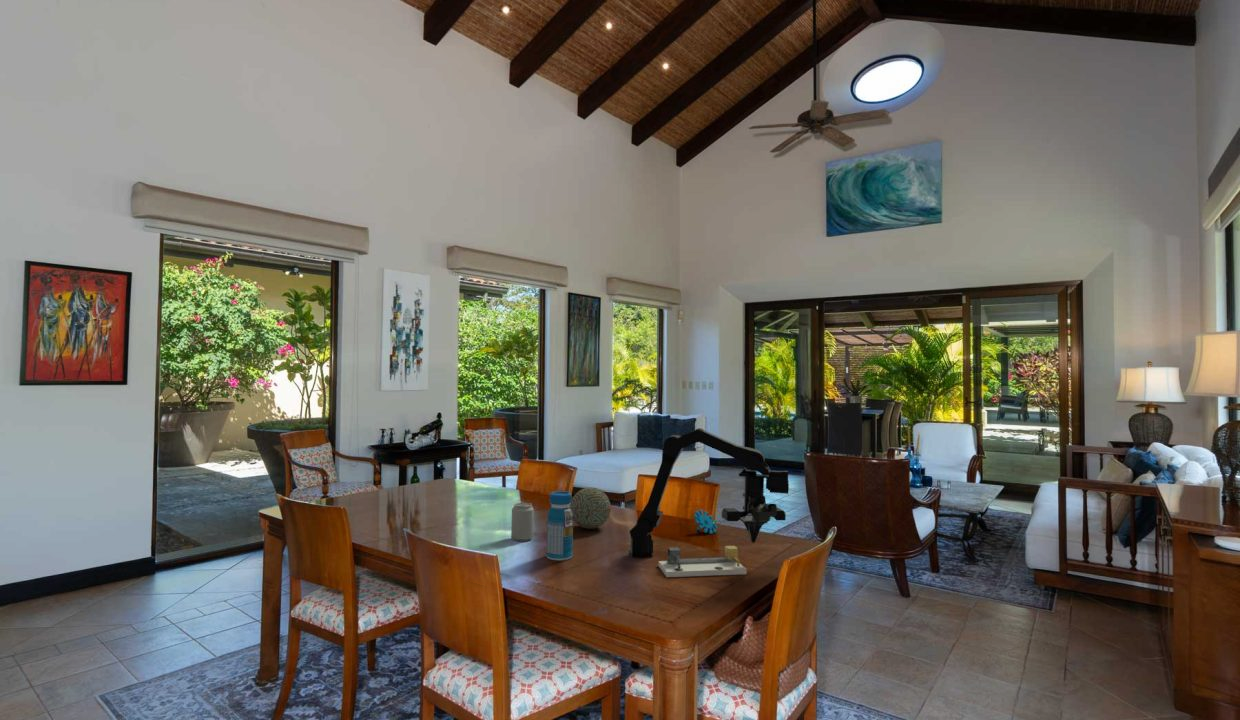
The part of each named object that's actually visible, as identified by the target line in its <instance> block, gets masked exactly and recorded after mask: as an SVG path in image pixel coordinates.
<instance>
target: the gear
mask: <svg viewBox="0 0 1240 720" xmlns="http://www.w3.org/2000/svg"><path fill="white" fill-rule="evenodd" d="M708 513H709V512H708V511H707V510H703V509H699V510H696V511H695V512H694V515H693V519H695V520H694V523H695V525H697V524H699V525H698V527H697V528H696V530H697V531H700V530H702V529H703V532H704V533H705V534H707V533H708V534H709V535H712V534H713V533H714V534H715V533H716V532H717V529H718V525H717V522H718V519H717V518H715V519H713V518H714V517H713V515H712V514H709V515H708Z"/></svg>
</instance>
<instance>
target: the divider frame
mask: <svg viewBox="0 0 1240 720" xmlns="http://www.w3.org/2000/svg"><path fill="white" fill-rule="evenodd" d="M737 559H738V560H739V558H737ZM666 561H667V564H677V565H678V568H680V567H681V565H680V564H693V563H723V562H735V561H734V560H733V559H728V558H727V557H726V556H725V557H700V558H698V557H697V558H681V549H680V548H679V547H678V546H676V547H667V559H666Z"/></svg>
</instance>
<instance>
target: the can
mask: <svg viewBox="0 0 1240 720" xmlns="http://www.w3.org/2000/svg"><path fill="white" fill-rule="evenodd" d="M534 511H535V509H534V507H533V504H532V503H530V502H515V503H514V504H513V507H512V508H511V527H510V528H511V532H510V533H511V534H510V535H511V536H510V537H511V538H512V539H513V541H516V542H527V541H531V539H532V538H533V537H534V514H535V513H534Z"/></svg>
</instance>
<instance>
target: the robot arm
mask: <svg viewBox="0 0 1240 720" xmlns="http://www.w3.org/2000/svg"><path fill="white" fill-rule="evenodd" d="M697 443H701V444H703V445H704V446H707V447H709V448H711V449H714V450H716V451H719V452H720V453H723V454H724V455H727V456H730V457H732V458H734V460H736V461H737V462H739V463H740V464H741V465H743V466H744V467H743V468H742V470H741V471H739V473H738V477H744V492H743V493H742V496H743V497H744V498H743V501H744V502H743V503H744V504H743V506H742V510H740V511H739V510H738V509H736V508H734V507H725V508H723V509H722V510H721V518H722V519H724V520H725V521H727V522H738V521H741V522H742V523H743V525H744V526H745V529H746V531H747V535H748V538H749V539H750V542H751V543H753V544H754V543H756V540H757V537H758V535H759V533H760V530H761V528H762V527H763V526H764V525H765V524H768V523H769V522H770V521H771V518H774V520H776V521H786V516H787V515H786V512H785V511H784V509H782V508H780V507H778V506H777V504H776V503H767V502H766V496H765V495H764V493H765V491H764V489H766V490H767V491H769V493H771V494H785V495H788V494H789V491H790V490H789V486H790V485H789V483H790V482H789V481H790V480H789V470H771V468H770V466H769V465H768V464H767V462H765V460H766V459H765V454H764V453H763V452H762V451H761V450H758V449H756V448H752V447H749V446H748V447H747V446H743V445H738V444H736V443H734V442H731V441H729V440H727V439H724V438H722V437H720V436H718V435H715V434H714V433H710V432H708V431H707V430H705V429H704V428H700V427H699V428H696V429H693V430H692V431H689V432H686V433H684V434H681V435H679V434H671V435H670V436H669V437H667V438H666V439H665V440H664V442H663V445H662V446H663V447H662V452H661V462H660V463H661V464H660V467H659V469H658V472H657V475H656V477H655V480H654V483H653V486H652V489H651V491H650V495H649V498H648V500H647V503H646V505H645V506H644V508H643V510H642V511H641V513H640V515H639V516H638V519H637V520H636V523H635V525H634V526H633V527H632V528H631V529H630V530H629V534H630V547H629V548H630V549H629V550H628V552H629V553H630V555H631V557H632V558H652V557H654V556H653V553H654V540H653V539H652V535H651V532H653V531H654V529H657V527H658V526H659V525H660V523H661V519H662V516H663V514H664V511H662V510H661V509H660V508H661V503H662V501H663V497H664V494H665V492H666V488H667V485H668V482H669V480H670V477H671V474H672V471H673V469H674V466H675V464H676V462H677V460H678V459H679V457H680V455H682V452H683V451H684V449H685V448H687V447H689V446H692V445H694V444H697ZM748 469H749V470H748ZM757 472H758V473H757ZM764 486H765V487H764Z"/></svg>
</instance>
